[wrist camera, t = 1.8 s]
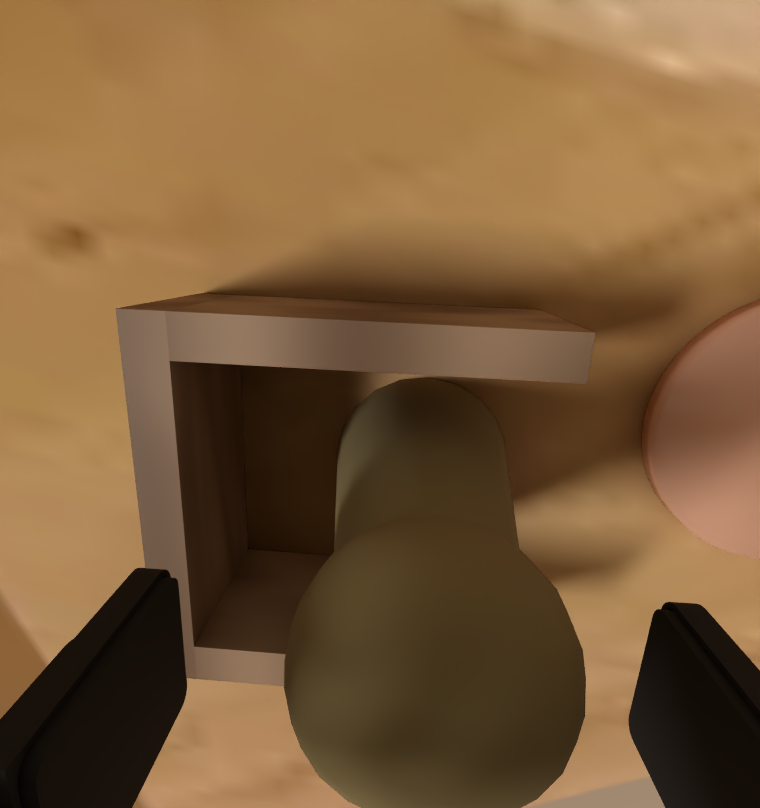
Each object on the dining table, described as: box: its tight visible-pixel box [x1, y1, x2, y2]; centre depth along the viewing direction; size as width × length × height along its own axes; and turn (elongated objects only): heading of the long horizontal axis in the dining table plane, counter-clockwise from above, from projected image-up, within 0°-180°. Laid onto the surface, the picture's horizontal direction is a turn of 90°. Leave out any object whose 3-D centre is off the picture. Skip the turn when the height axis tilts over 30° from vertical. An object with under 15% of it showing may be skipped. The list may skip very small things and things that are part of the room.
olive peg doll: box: [284, 378, 586, 808], centre depth 12 cm, size 6×6×11 cm
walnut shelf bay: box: [116, 293, 596, 686], centre depth 15 cm, size 11×11×5 cm
